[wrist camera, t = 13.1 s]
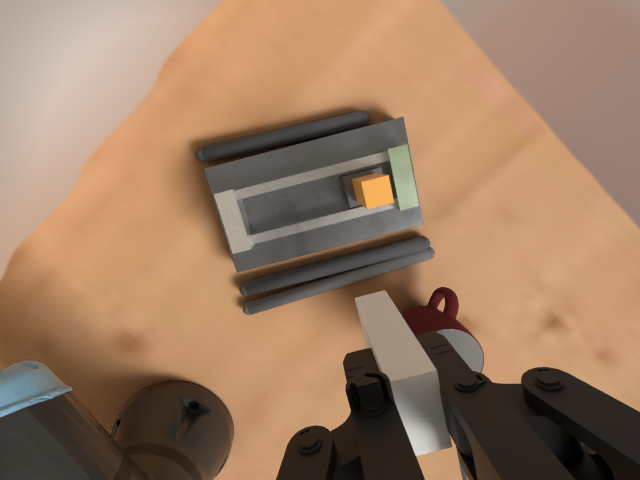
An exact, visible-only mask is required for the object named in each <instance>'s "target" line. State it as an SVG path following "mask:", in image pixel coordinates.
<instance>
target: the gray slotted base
mask: <svg viewBox="0 0 640 480" xmlns="http://www.w3.org/2000/svg"><path fill="white" fill-rule="evenodd" d="M375 167H381V168H382V173H383V174H384V175H389V180H390V184H391V189H392V194H393V199H394V203H390V204H386V205H383V206H379V207H375V208H371V209H366V208H365V207H363V206H362V205H359V206H355V207H351V208H350V207H349V206H348V205H347V201H346V197H345V192H344V188H343V184H342V180H341V176H344V175H348V174H352V173H356V172H360V171H364V170H367V169H371V168H375ZM204 172H205V175H206V178H207V181H208V184H209V187H210V190H211V194H212V197H213V200H214V203H215V206H216V209H217V212H218V215H219V218H220V222H221V225H222V228H223V231H224V234H225V237H226V240H227V243H228V246H229V250H230V253H231V256H232V259H233V262H234V265H235V268H236V271H237V272H241V271H245V270H249V269H253V268H256V267H260V266H264V265H268V264H272V263H276V262H280V261H284V260H287V259H291V258H295V257H299V256H303V255H307V254H311V253H315V252H319V251H322V250H326V249H330V248H334V247H338V246H342V245H346V244H350V243H354V242H357V241H361V240H365V239H369V238H373V237H377V236H381V235H385V234H389V233H392V232H396V231H400V230H404V229H408V228H412V227H416V226H420V225H423V224H424V223H423V218H422V213H421V208H420V202H419V197H418V192H417V187H416V181H415V176H414V171H413V165H412V160H411V155H410V150H409V144H408V139H407V134H406V129H405V123H404V118H403V117H400V118H397V119H393V120H389V121H385V122H381V123H377V124H373V125H370V126H366V127H362V128H358V129H354V130H350V131H347V132H343V133H339V134H335V135H331V136H327V137H324V138H320V139H316V140H312V141H308V142H304V143H300V144H297V145H293V146H289V147H285V148H281V149H277V150H274V151H270V152H266V153H262V154H258V155H254V156H251V157H247V158H243V159H239V160H235V161H231V162H228V163H224V164H220V165H216V166H212V167H208V168H204Z"/></svg>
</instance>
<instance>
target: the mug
mask: <svg viewBox="0 0 640 480" xmlns="http://www.w3.org/2000/svg"><path fill="white" fill-rule="evenodd" d="M444 297H445V308H444V311H443V313H442V312H441V311H439V310H438V309H437V307H438V305H439V303H440V302H441V300H442V299H443V298H444ZM458 308H459V304H458V298H457V296H456V294H455V292H454V291H452V290H451V289H449V288H446V287H440V288H438V289H436V290H435V291H434V292H433V294H432V296H431V298H430V300H429V303H428V305H427V306H419V307H414V308H411V309H409V310H407V311H406V312H405V313H404V314H403V315H402V317H403V318H404V320H405V322H406V323H407V325H408V326H409V328H410V329H411V331H412V332H413V334H414V335H418V334H422V333H426V332H430V331H435V332H438V333H440V334H442V335H444V336H445V338H446V339H447V340H448V341H449V342H450V344H451V345H452V346H453V347H454V349H455V351H457V352H458V354H459V355H460V356H461V357H462V358H463V360H464V361H465V362H466V363H467V365H468V366H469V367H470V368H471V369H472V371H476V372H479V373H481V372H482V369H483V365H484V355H483V350H482V348H481V346H480V344H479V342H478V341H477V340H476V338H475V337H474V336H473V335H472V334H471V333H470V332H469V331H468V330H467V329H466V328H465V327H464V326H463V325H462V324H461V323H459V322H458V321H457V320H456V316H457V313H458Z"/></svg>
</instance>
